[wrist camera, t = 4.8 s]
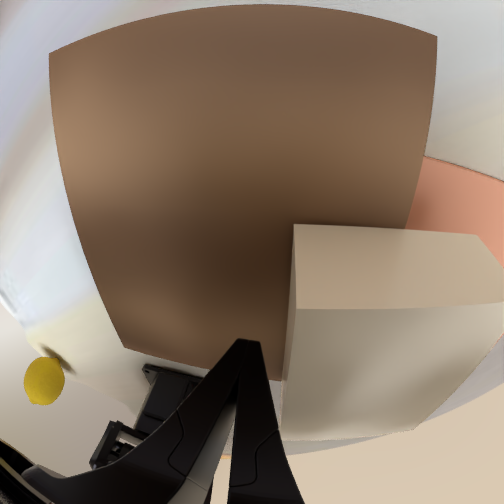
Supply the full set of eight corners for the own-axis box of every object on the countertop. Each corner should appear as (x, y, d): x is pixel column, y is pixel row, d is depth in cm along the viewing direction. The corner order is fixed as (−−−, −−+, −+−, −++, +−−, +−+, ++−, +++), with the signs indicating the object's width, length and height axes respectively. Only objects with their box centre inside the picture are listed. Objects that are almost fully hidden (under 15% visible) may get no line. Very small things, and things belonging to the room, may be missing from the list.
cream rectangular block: (402, 376, 11) (412, 429, 9) (281, 380, 12) (277, 440, 9) (476, 234, 7) (524, 299, 4) (293, 224, 7) (296, 308, 5)
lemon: (80, 375, 30) (56, 420, 23) (56, 365, 31) (33, 406, 25) (58, 350, 27) (29, 398, 20) (36, 341, 28) (8, 383, 22)
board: (335, 325, 15) (336, 386, 12) (152, 298, 17) (124, 347, 13) (392, 48, 7) (437, 36, 4) (115, 50, 8) (48, 53, 5)
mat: (450, 388, 18) (451, 392, 18) (314, 389, 20) (313, 394, 19) (564, 210, 8) (568, 213, 7) (388, 147, 9) (391, 150, 9)
